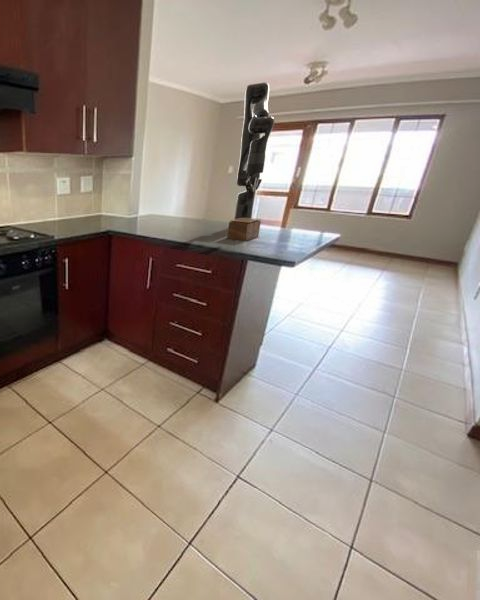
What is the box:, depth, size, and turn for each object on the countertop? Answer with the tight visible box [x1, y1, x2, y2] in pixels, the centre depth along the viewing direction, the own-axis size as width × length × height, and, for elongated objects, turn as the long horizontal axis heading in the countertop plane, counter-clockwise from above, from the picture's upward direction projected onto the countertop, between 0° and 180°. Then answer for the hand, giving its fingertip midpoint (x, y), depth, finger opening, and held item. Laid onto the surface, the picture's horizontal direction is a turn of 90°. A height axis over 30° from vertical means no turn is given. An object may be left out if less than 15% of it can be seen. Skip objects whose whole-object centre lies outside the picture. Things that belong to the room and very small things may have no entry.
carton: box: [226, 219, 262, 241], centre depth 175 cm, size 13×10×9 cm
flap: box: [238, 218, 262, 221], centre depth 175 cm, size 6×10×1 cm, turn 37°
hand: (250, 199), depth 170 cm, fingers closed
